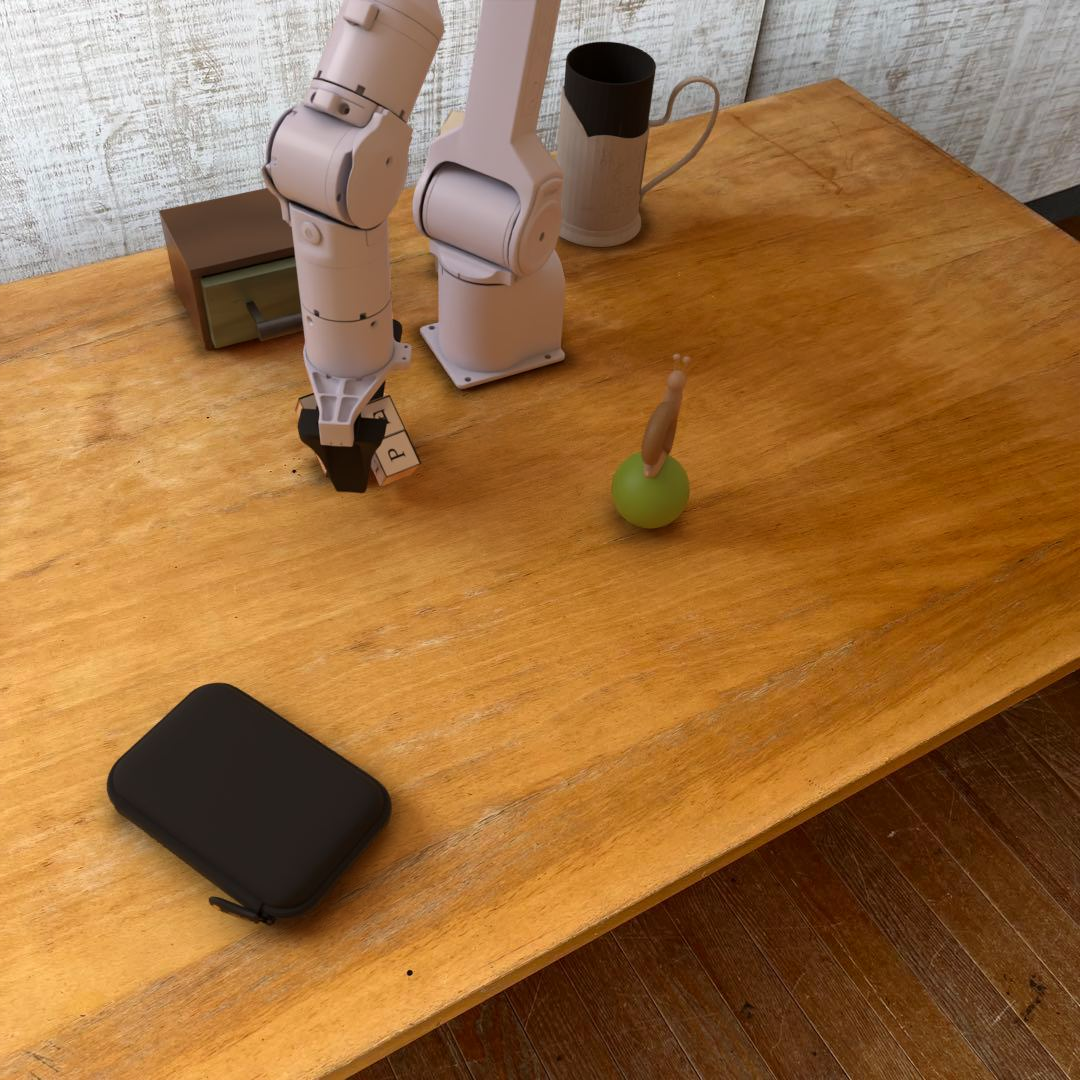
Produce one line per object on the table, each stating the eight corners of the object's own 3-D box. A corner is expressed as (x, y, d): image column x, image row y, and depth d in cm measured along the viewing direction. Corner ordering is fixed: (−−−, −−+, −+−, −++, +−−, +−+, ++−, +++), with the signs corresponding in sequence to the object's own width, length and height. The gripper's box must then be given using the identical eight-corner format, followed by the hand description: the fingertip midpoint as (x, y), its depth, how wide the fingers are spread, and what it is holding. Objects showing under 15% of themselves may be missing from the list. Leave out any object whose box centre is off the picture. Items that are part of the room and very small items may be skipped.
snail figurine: (694, 491, 85) (723, 363, 76) (672, 553, 81) (700, 425, 72) (623, 471, 86) (643, 343, 77) (597, 531, 82) (616, 402, 73)
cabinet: (355, 312, 97) (349, 233, 91) (205, 350, 93) (189, 270, 87) (319, 256, 102) (311, 178, 96) (175, 290, 98) (158, 210, 92)
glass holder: (542, 193, 110) (552, 37, 99) (688, 192, 112) (715, 38, 101) (552, 247, 105) (565, 88, 94) (707, 245, 106) (738, 88, 95)
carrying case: (81, 815, 65) (279, 965, 61) (67, 788, 63) (273, 941, 58) (217, 687, 72) (407, 814, 67) (210, 658, 69) (406, 787, 64)
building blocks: (407, 482, 86) (361, 385, 86) (421, 463, 81) (373, 360, 82) (340, 509, 84) (294, 409, 85) (351, 491, 79) (302, 385, 80)
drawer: (372, 343, 93) (368, 282, 89) (231, 380, 89) (220, 318, 85) (321, 263, 100) (315, 203, 95) (188, 295, 96) (176, 234, 91)
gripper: (396, 372, 69) (403, 528, 79) (420, 232, 79) (423, 387, 89) (276, 365, 69) (298, 521, 79) (315, 226, 78) (330, 381, 89)
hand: (358, 450), depth 84 cm, fingers closed on building blocks, 7 cm apart
